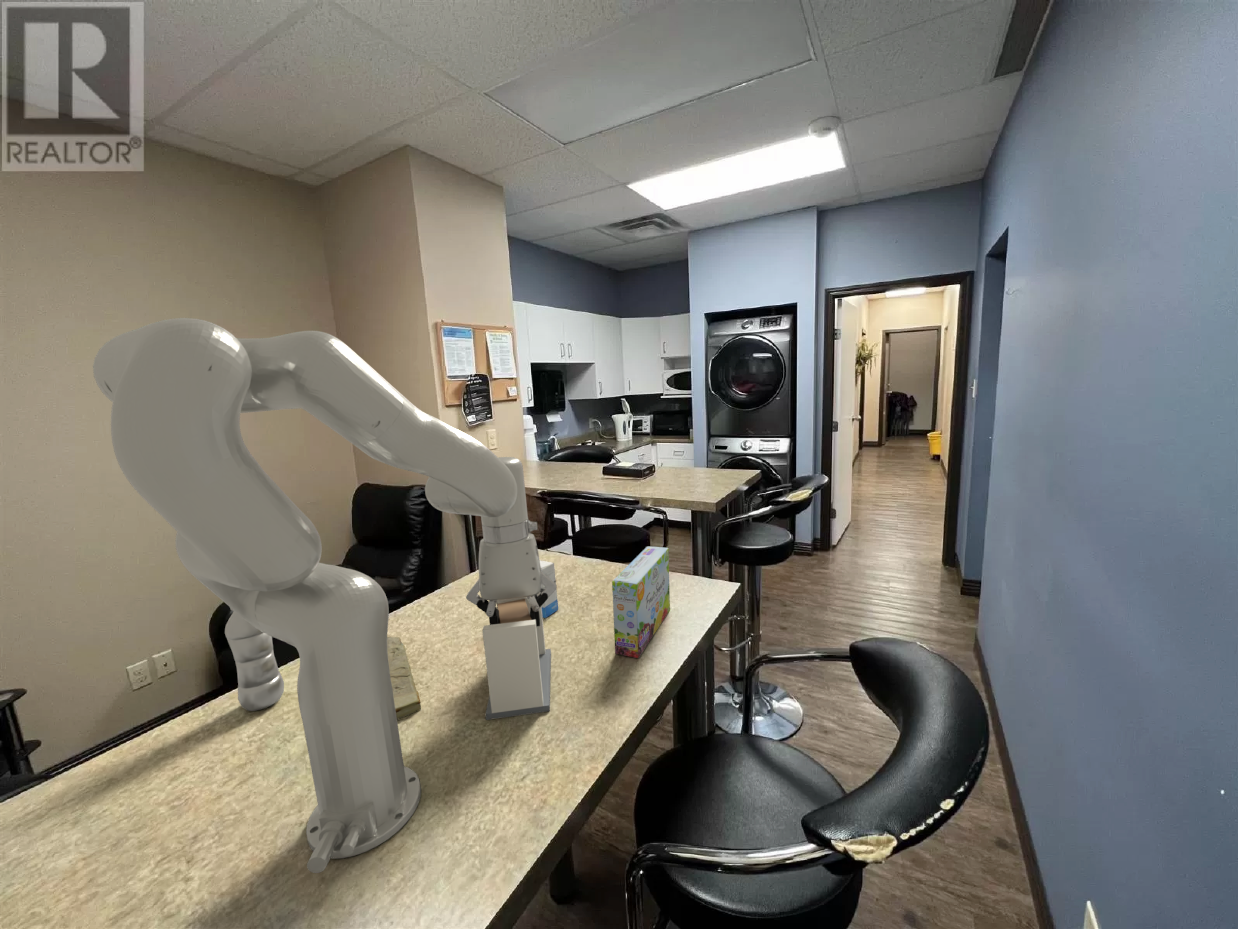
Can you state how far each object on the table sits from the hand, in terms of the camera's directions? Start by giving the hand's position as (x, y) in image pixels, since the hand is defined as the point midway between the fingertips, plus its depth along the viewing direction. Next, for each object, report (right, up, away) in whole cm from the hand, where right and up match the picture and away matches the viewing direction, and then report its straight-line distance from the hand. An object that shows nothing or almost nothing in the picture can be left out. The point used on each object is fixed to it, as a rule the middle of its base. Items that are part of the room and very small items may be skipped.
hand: (516, 631), depth 83 cm
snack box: (+23, -6, +17) cm, 30 cm away
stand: (+1, -10, +2) cm, 10 cm away
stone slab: (-27, -12, +6) cm, 30 cm away
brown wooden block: (0, -1, 0) cm, 1 cm away
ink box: (-1, -6, +30) cm, 30 cm away
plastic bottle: (-44, -13, 0) cm, 46 cm away
